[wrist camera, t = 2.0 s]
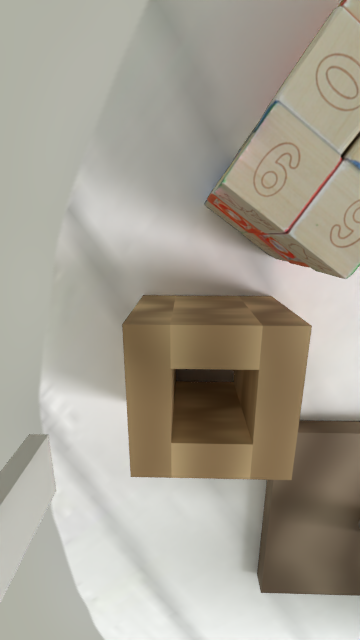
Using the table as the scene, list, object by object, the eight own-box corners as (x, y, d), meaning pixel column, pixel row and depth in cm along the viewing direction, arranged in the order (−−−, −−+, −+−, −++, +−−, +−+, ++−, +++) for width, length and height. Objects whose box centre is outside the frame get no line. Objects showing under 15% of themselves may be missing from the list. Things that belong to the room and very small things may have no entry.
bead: (271, 296, 21) (311, 326, 14) (261, 408, 23) (291, 480, 17) (143, 295, 21) (122, 324, 14) (147, 407, 23) (130, 476, 17)
